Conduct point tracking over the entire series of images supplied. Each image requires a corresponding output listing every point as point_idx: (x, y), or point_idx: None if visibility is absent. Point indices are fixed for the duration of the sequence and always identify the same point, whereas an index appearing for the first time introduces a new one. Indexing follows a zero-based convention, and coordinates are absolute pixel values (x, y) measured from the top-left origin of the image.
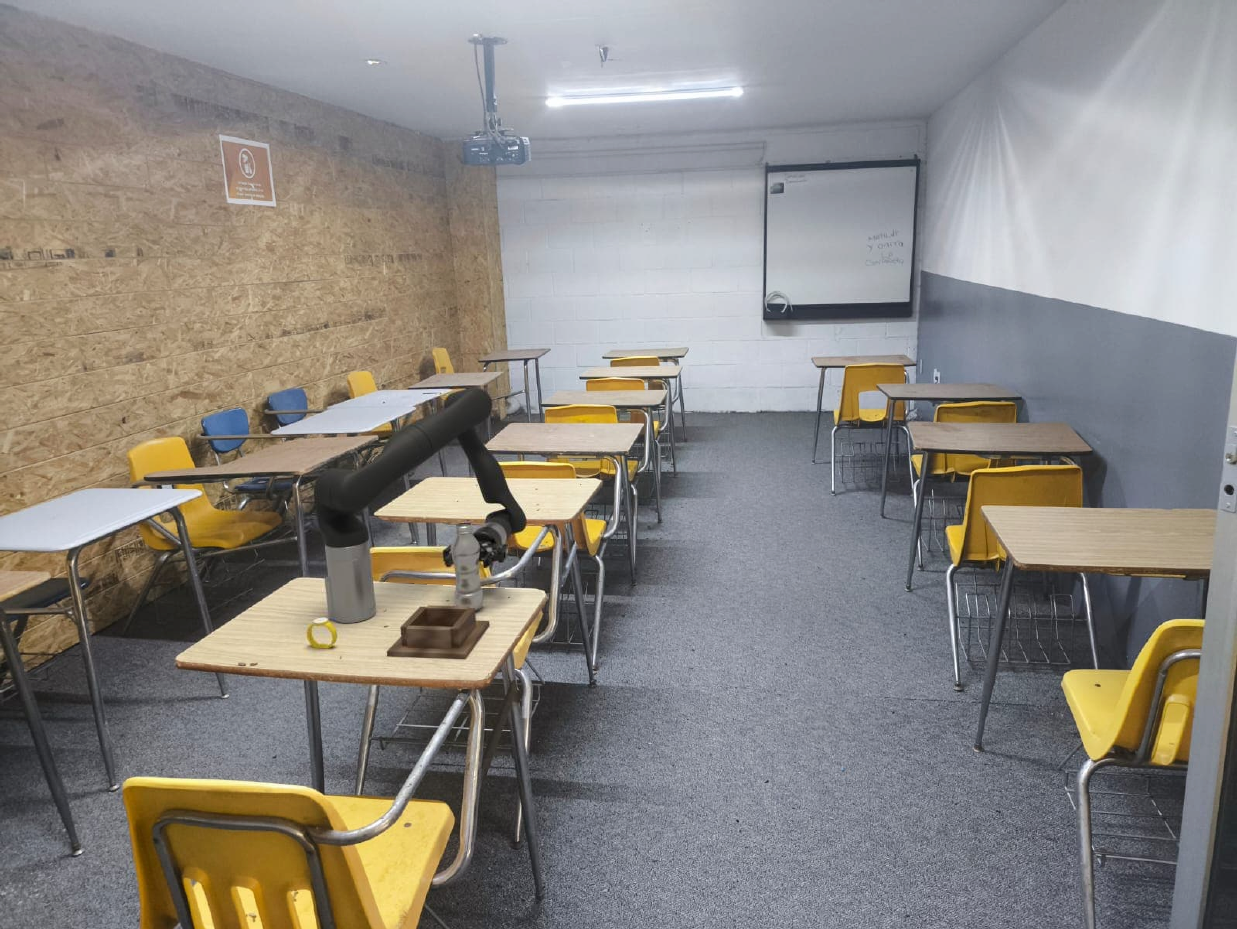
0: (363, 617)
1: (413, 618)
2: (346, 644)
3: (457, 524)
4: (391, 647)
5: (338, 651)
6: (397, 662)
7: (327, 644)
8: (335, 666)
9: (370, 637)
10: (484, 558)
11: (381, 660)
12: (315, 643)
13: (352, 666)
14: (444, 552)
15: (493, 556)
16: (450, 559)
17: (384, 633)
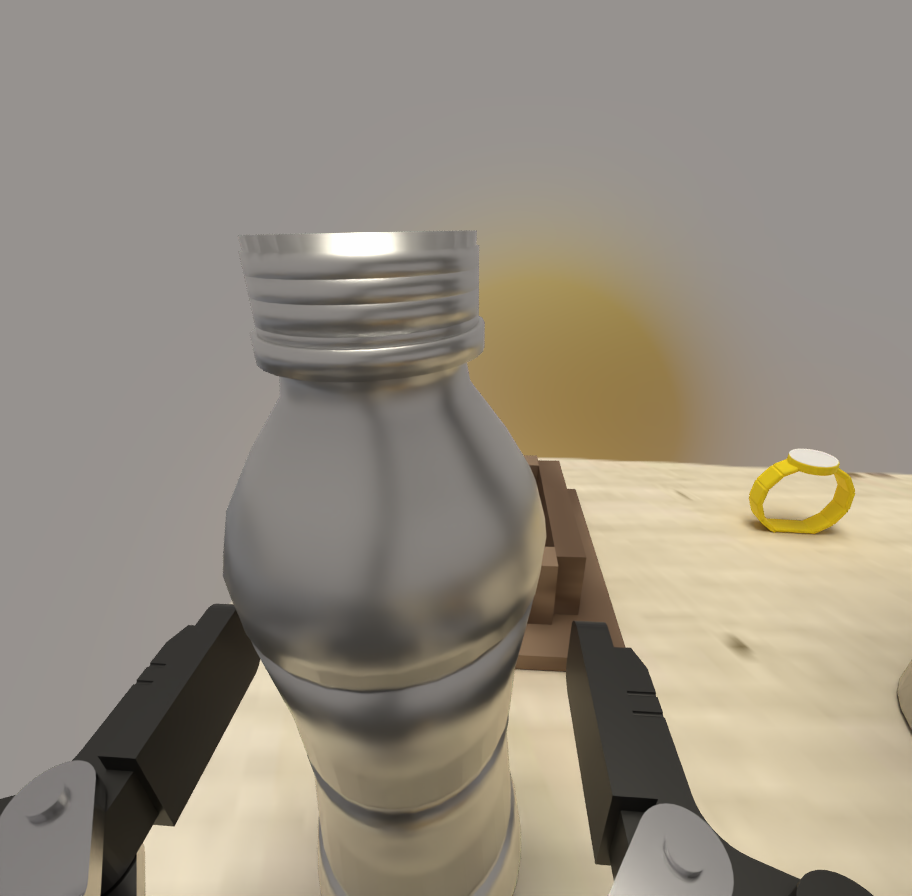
0: (903, 677)
1: (551, 492)
2: (738, 539)
3: (463, 242)
4: (576, 500)
5: (719, 513)
6: None
7: (784, 528)
8: (657, 472)
9: (709, 572)
10: (223, 609)
11: (575, 488)
12: (816, 521)
13: (620, 473)
14: (818, 880)
15: (80, 758)
16: (579, 672)
17: (688, 595)
